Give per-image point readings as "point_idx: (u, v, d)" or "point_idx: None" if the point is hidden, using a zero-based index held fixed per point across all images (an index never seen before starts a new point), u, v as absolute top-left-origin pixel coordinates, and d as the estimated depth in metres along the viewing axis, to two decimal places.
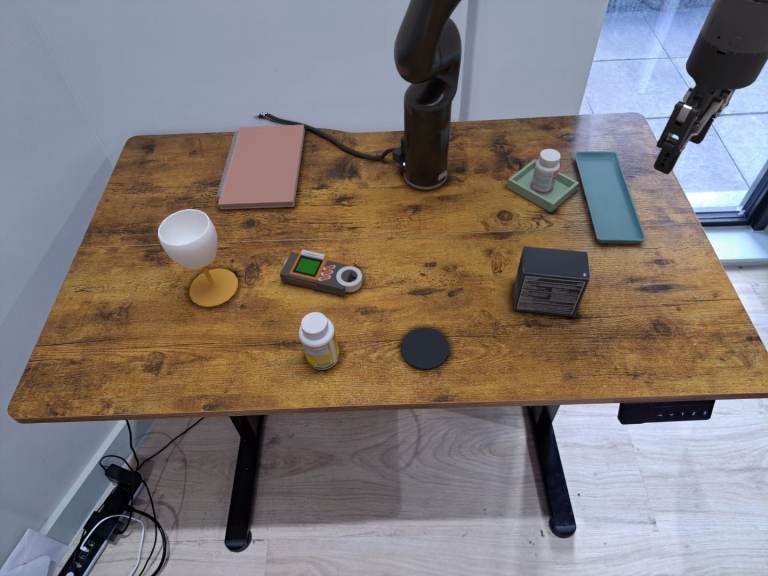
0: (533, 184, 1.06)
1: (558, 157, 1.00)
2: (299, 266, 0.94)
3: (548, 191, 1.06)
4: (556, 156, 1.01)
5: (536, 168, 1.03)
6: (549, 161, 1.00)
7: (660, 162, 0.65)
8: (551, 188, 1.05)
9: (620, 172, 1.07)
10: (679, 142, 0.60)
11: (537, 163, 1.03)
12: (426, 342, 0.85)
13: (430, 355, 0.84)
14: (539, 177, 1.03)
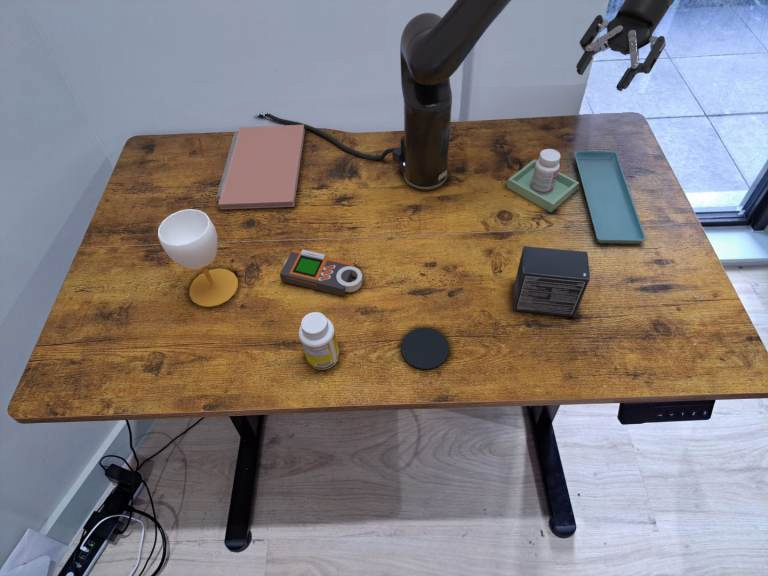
0: (533, 184, 1.06)
1: (558, 157, 1.00)
2: (299, 266, 0.94)
3: (548, 191, 1.06)
4: (556, 156, 1.01)
5: (536, 168, 1.03)
6: (549, 161, 1.00)
7: (628, 82, 0.94)
8: (551, 188, 1.05)
9: (620, 172, 1.07)
10: None
11: (537, 163, 1.03)
12: (426, 342, 0.85)
13: (430, 355, 0.84)
14: (539, 177, 1.03)
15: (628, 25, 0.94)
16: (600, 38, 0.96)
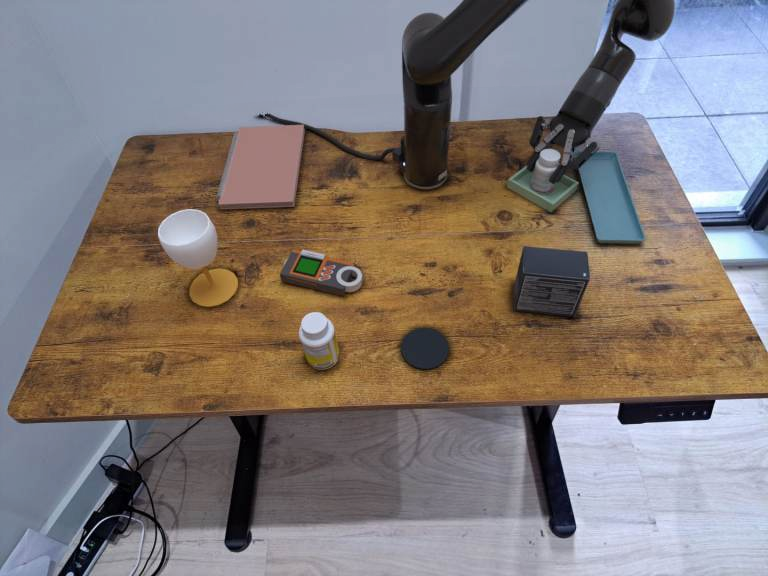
0: (533, 184, 1.06)
1: (558, 157, 1.00)
2: (299, 266, 0.94)
3: (548, 191, 1.06)
4: (556, 156, 1.01)
5: (536, 168, 1.03)
6: (549, 161, 1.00)
7: (559, 177, 1.01)
8: (551, 188, 1.05)
9: (620, 172, 1.07)
10: (583, 163, 1.00)
11: (537, 163, 1.03)
12: (426, 342, 0.85)
13: (430, 355, 0.84)
14: (539, 177, 1.03)
15: (568, 124, 1.00)
16: (545, 138, 1.02)
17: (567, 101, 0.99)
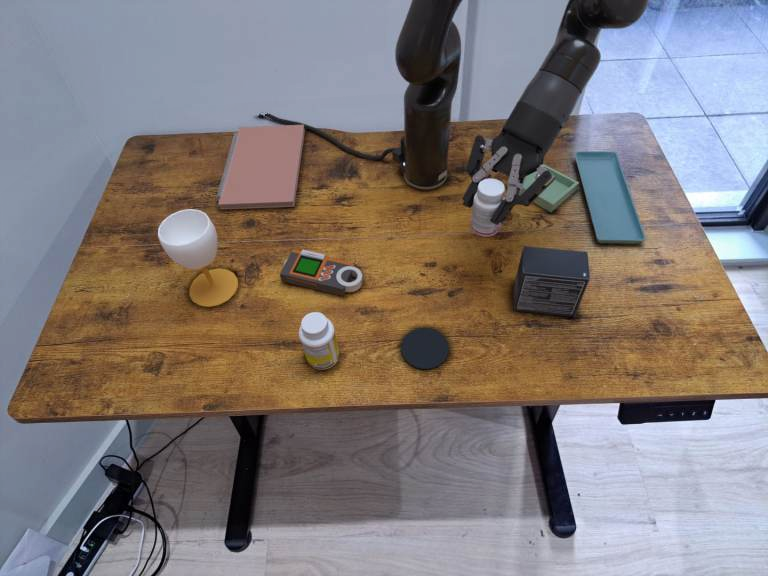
0: (473, 224, 0.81)
1: (501, 190, 0.75)
2: (299, 266, 0.94)
3: (492, 232, 0.81)
4: (499, 189, 0.76)
5: (474, 204, 0.78)
6: (489, 196, 0.75)
7: (504, 216, 0.76)
8: (496, 229, 0.80)
9: (620, 172, 1.07)
10: (535, 198, 0.75)
11: (475, 197, 0.78)
12: (426, 342, 0.85)
13: (430, 355, 0.84)
14: (478, 215, 0.78)
15: (514, 146, 0.75)
16: (485, 165, 0.77)
17: (511, 116, 0.73)
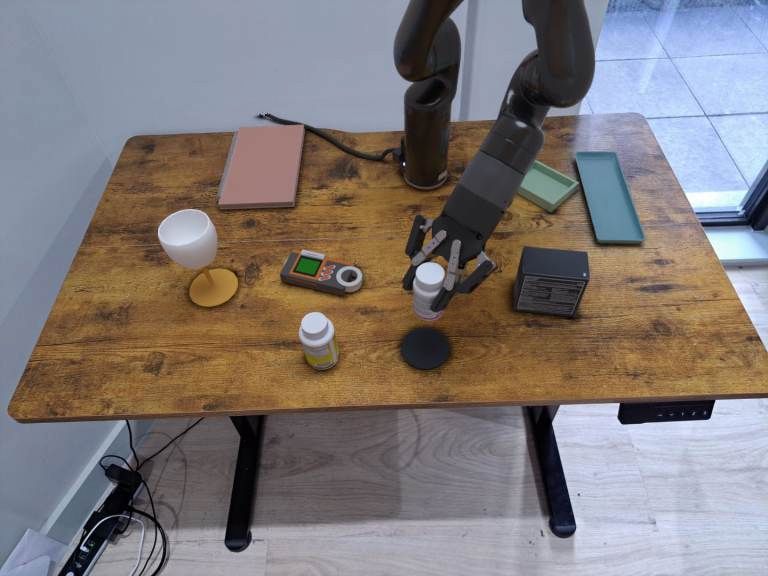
0: (414, 307, 0.75)
1: (440, 277, 0.69)
2: (299, 267, 0.94)
3: (435, 317, 0.74)
4: (438, 275, 0.69)
5: (413, 289, 0.72)
6: (426, 284, 0.69)
7: (444, 304, 0.70)
8: (439, 313, 0.74)
9: (620, 172, 1.07)
10: (477, 286, 0.69)
11: (414, 282, 0.71)
12: (426, 342, 0.85)
13: (430, 355, 0.84)
14: (418, 301, 0.72)
15: (454, 230, 0.69)
16: (424, 248, 0.70)
17: (450, 199, 0.67)
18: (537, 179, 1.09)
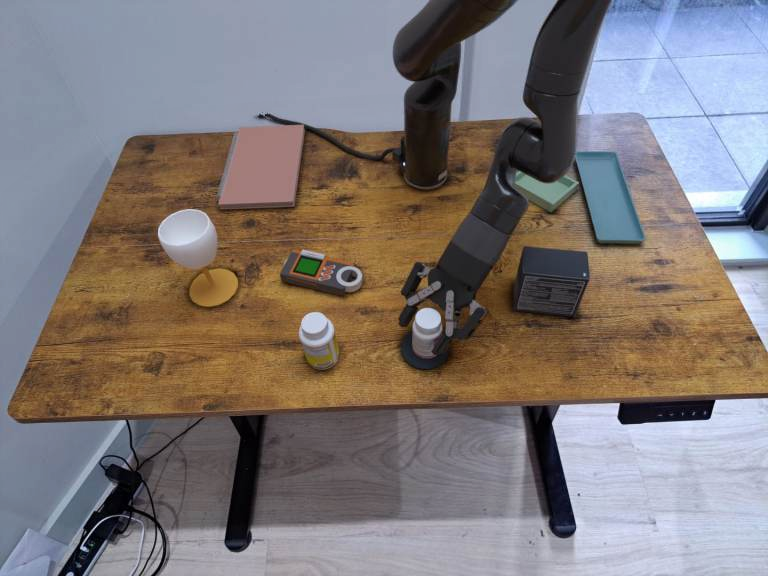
0: (413, 346, 0.83)
1: (437, 322, 0.77)
2: (299, 266, 0.94)
3: (432, 355, 0.83)
4: (435, 321, 0.78)
5: (413, 331, 0.80)
6: (425, 328, 0.77)
7: (444, 348, 0.78)
8: None
9: (620, 172, 1.07)
10: (474, 331, 0.77)
11: (414, 325, 0.80)
12: None
13: None
14: (417, 342, 0.80)
15: (448, 281, 0.77)
16: (419, 293, 0.79)
17: (444, 254, 0.76)
18: None
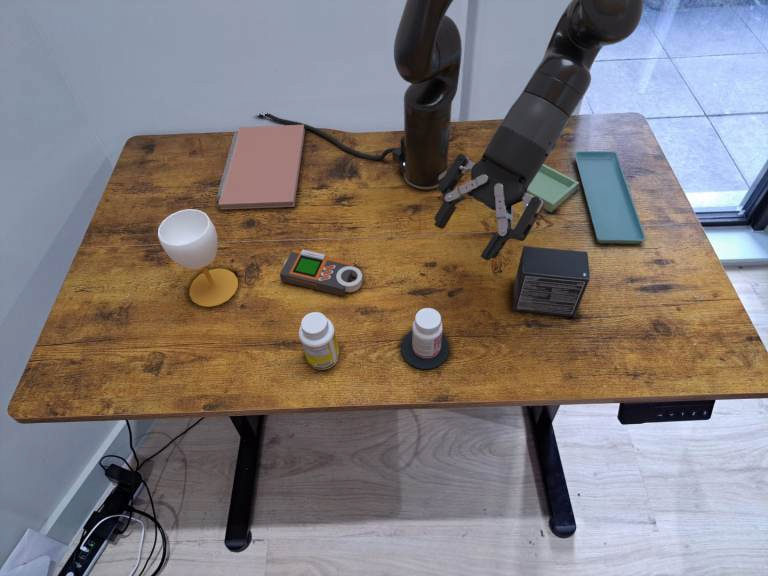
0: (413, 346, 0.83)
1: (437, 322, 0.77)
2: (299, 267, 0.94)
3: (432, 355, 0.83)
4: (435, 321, 0.78)
5: (413, 331, 0.80)
6: (425, 328, 0.77)
7: (496, 251, 0.68)
8: (435, 352, 0.82)
9: (620, 172, 1.07)
10: (530, 229, 0.67)
11: (414, 325, 0.80)
12: None
13: None
14: (417, 342, 0.80)
15: (496, 174, 0.68)
16: (461, 187, 0.70)
17: (492, 142, 0.67)
18: (537, 179, 1.09)
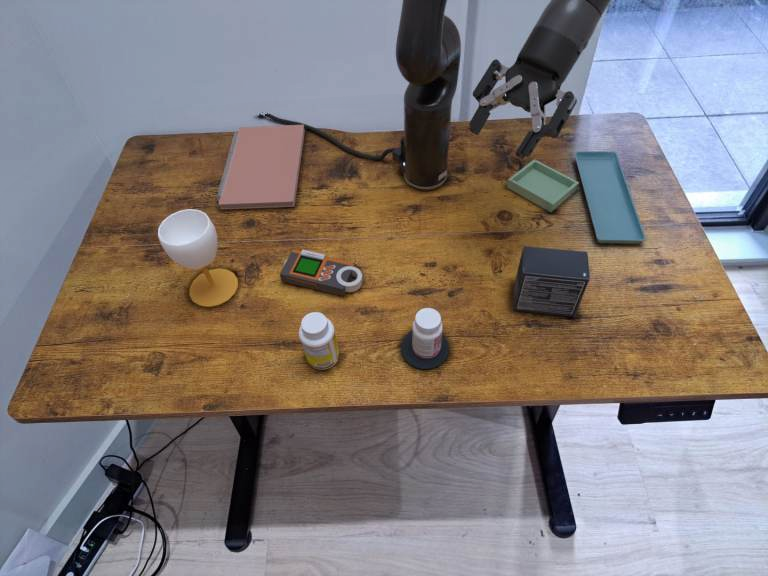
0: (413, 346, 0.83)
1: (437, 322, 0.77)
2: (299, 267, 0.94)
3: (432, 355, 0.83)
4: (435, 321, 0.78)
5: (413, 331, 0.80)
6: (425, 328, 0.77)
7: (530, 149, 0.72)
8: (435, 352, 0.82)
9: (620, 172, 1.07)
10: (562, 126, 0.71)
11: (414, 325, 0.80)
12: None
13: None
14: (417, 342, 0.80)
15: (530, 75, 0.72)
16: (496, 90, 0.74)
17: (527, 42, 0.70)
18: (537, 179, 1.09)
